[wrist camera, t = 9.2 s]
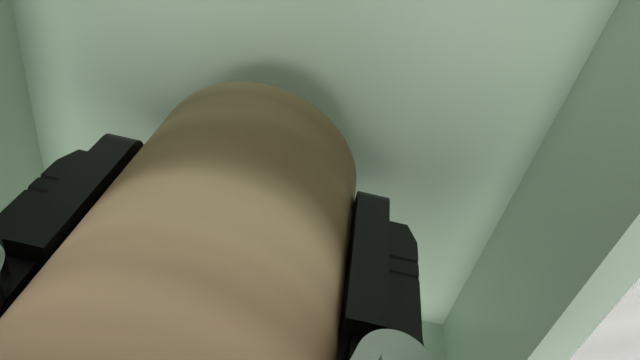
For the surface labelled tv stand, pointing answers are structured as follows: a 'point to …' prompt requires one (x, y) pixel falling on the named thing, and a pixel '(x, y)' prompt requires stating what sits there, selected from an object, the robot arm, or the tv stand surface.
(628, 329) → the tv stand surface
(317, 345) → the beech cylinder
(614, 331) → the tv stand surface
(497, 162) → the tote
